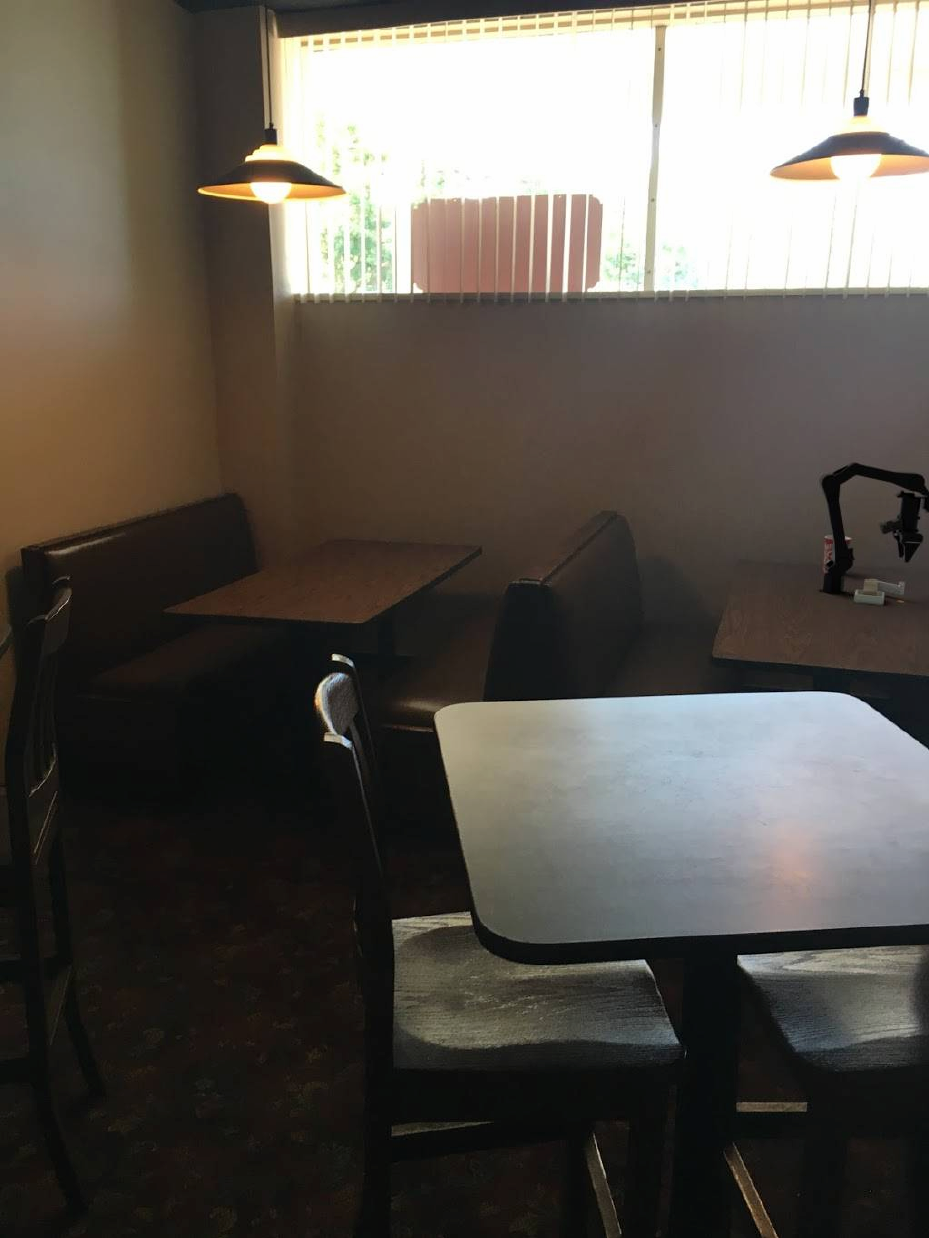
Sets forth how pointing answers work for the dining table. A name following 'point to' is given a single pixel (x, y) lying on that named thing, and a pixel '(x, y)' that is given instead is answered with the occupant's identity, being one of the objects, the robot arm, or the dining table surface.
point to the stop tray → (869, 598)
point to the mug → (830, 549)
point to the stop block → (870, 587)
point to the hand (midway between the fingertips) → (903, 560)
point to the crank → (891, 587)
